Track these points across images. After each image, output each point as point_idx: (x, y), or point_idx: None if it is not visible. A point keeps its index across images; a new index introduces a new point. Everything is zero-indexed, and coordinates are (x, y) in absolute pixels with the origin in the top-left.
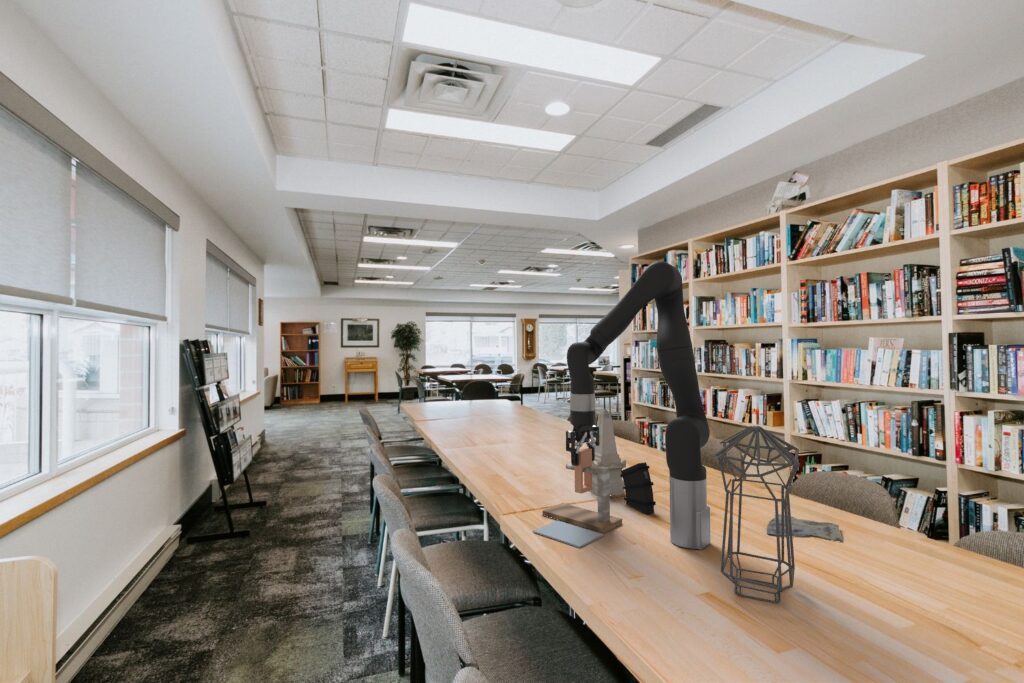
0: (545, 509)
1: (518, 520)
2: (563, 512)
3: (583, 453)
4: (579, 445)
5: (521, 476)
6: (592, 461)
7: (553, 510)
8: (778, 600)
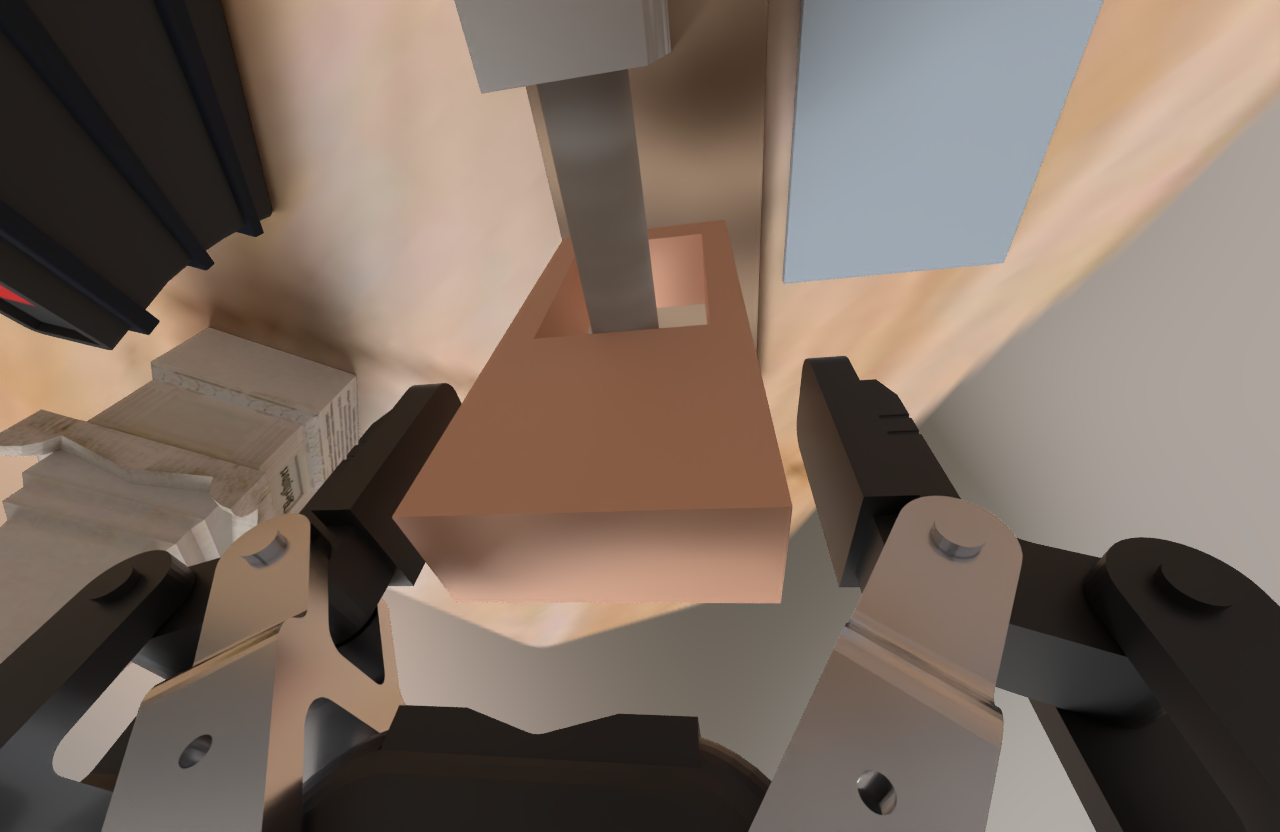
0: None
1: None
2: (704, 317)
3: (693, 473)
4: (958, 682)
5: (504, 631)
6: None
7: None
8: None
